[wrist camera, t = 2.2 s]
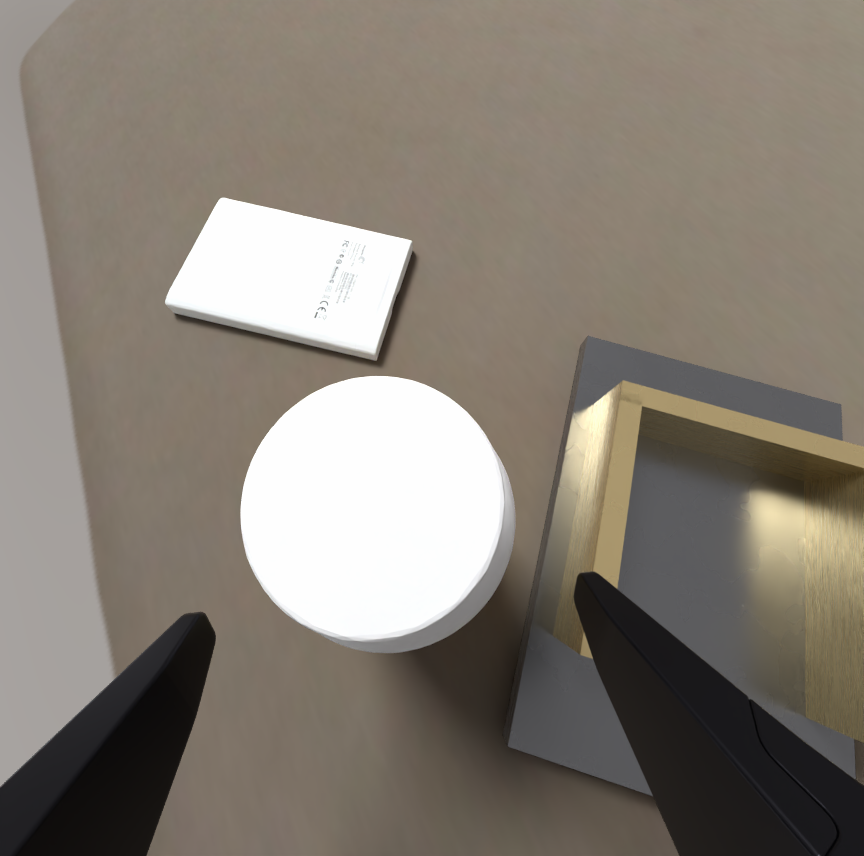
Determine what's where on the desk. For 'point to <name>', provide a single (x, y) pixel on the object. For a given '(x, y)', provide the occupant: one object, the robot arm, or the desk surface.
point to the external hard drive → (292, 278)
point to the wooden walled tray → (698, 553)
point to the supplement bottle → (378, 515)
